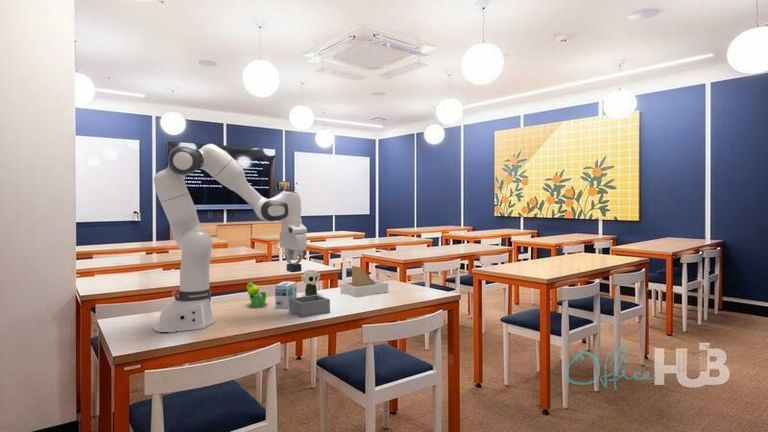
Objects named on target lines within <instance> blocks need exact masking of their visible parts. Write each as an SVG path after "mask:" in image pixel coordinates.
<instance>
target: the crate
mask: <svg viewBox="0 0 768 432" xmlns="http://www.w3.org/2000/svg"><path fill="white" fill-rule="evenodd" d="M330 300H331V299H330V298H327V297H324V296H321V295H319V294H317V295H315V294H314V295H311V296H307V295H304V296H298V297H297V298H291V299H289V308H288V309H289V310H288V312H289V313H290V314H292V315H295V316H298V317H300V318H301V319H302V318H308V317H313V316H317V315H324V314H330V313H331V301H330Z"/></svg>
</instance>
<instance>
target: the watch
mask: <svg viewBox="0 0 768 432" xmlns="http://www.w3.org/2000/svg"><path fill="white" fill-rule="evenodd" d="M289 249H290V248H287V249H286V248H285V251H284V259H285V260H286V262H287V263H286V272H290V273H299V272H302V264H301V262H302V260H303V257H304V251H299V254H298V260H296V261H295V262H292V261H291V259H289V257H288V254H287V253H288V251H289Z"/></svg>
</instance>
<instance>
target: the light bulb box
mask: <svg viewBox="0 0 768 432" xmlns="http://www.w3.org/2000/svg"><path fill="white" fill-rule="evenodd" d="M297 286H298V285H297V282H296V281H285V280H284V281H282V282H279V283H277V284H275V285H274V290H275V291H274V294H275V295H274V296H275V297H274V298H275V300H274V303H275V305H274V306H275V308H276V309H289V299H291V298H297V294H298V293H297Z"/></svg>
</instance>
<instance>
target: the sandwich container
mask: <svg viewBox="0 0 768 432" xmlns="http://www.w3.org/2000/svg"><path fill="white" fill-rule="evenodd" d="M372 279H373V278H371V277H370V276H369V275H368V274H367V273H366V272H365V270H364V269H363V268H362V267H361V266H356V265H352V266H351V282H352V286H354V287H361V286H368V285H375V282H374V281H373V280H372Z"/></svg>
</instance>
